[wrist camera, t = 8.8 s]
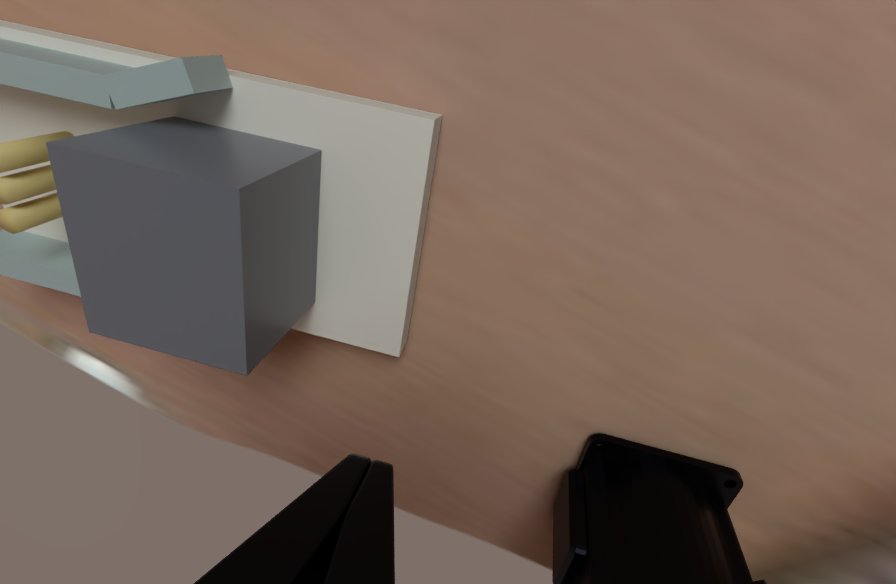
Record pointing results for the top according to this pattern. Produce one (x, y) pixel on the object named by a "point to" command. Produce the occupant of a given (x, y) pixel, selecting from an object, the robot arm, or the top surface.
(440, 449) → the top surface
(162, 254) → the grey block
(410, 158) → the board
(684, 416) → the top surface
